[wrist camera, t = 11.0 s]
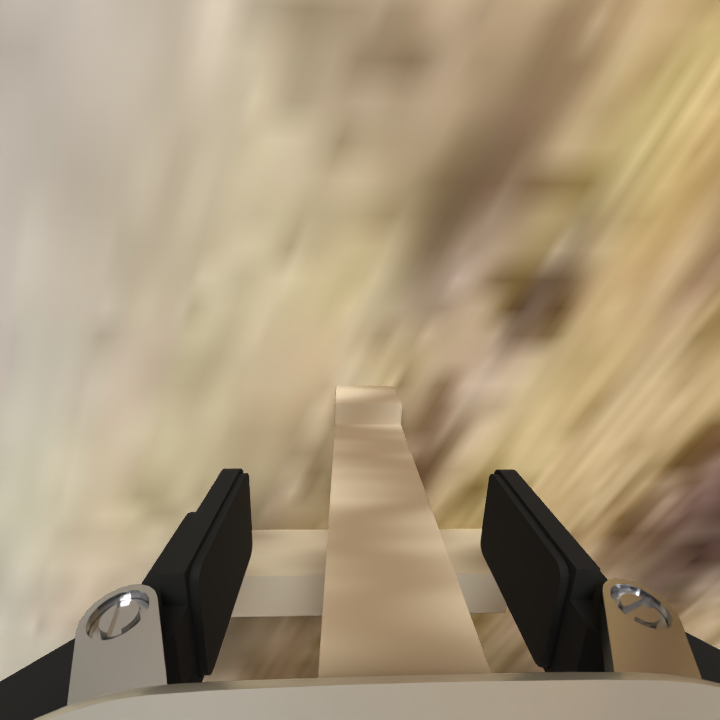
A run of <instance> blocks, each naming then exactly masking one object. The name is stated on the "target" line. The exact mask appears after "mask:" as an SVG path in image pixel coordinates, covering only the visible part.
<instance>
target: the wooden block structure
mask: <svg viewBox="0 0 720 720" xmlns="http://www.w3.org/2000/svg"><path fill="white" fill-rule="evenodd" d="M401 414H402V403H401V401H400V398H399V396H398V394H397V391H396V389H395V387H389V386H337V389H336V402H335V434H334V449H333V464H332V478H331V493H330V508H329V523H328V530H252V542H253V546H252V554H251V558H250V561H249V564H248V567H247V570H246V573H245V576H244V579H243V582H242V585H241V588H240V591H239V594H238V597H237V600H236V603H235V606H234V609H233V612H232V615H231V617H264V616H322V627H321V642H320V657H319V672H318V678H330V677H364V676H402V675H442V674H487V673H491V671H490V668H489V665H488V663H487V660H486V657H485V654H484V652H483V649H482V646H481V643H480V641H479V638H478V635H477V632H476V630H475V627H474V624H473V621H472V619H471V616H470V613H506V607H507V604H506V602H505V600H504V598H503V596H502V594H501V592H500V589H499V587H498V585H497V583H496V581H495V579H494V577H493V575H492V573H491V571H490V569H489V567H488V565H487V563H486V561H485V559H484V557H483V554H482V551H481V546H480V541H481V533H482V529H439V528H438V525H437V523H436V520H435V517H434V514H433V512H432V509H431V506H430V503H429V501H428V498H427V495H426V493H425V490H424V487H423V484H422V482H421V479H420V476H419V473H418V471H417V468H416V465H415V462H414V460H413V457H412V454H411V451H410V449H409V446H408V443H407V440H406V438H405V435H404V432H403V429H402V427H401Z"/></svg>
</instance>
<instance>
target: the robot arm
mask: <svg viewBox="0 0 720 720" xmlns="http://www.w3.org/2000/svg"><path fill="white" fill-rule="evenodd" d="M252 546H253V542H252V524H251V505H250V487H249V475H248V473H243V470H242V469H223V470H222V471H221V473H220V474H219V476H218V478H217V479H216V481H215V482H214V484H213V486H212V487H211V489H210V490H209V492H208V494H207V495H206V497H205V499H204V500H203V502H202V503H201V505H200V507H199V508H198V510H197V511H196V512H190V513H188V514H187V515H186V517H185V518H184V519H183V521H182V522H181V524H180V526H179V527H178V529H177V530H176V532H175V533H174V535H173V536H172V538H171V539H170V541H169V542H168V544H167V545H166V547H165V548H164V550H163V552H162V553H161V555H160V556H159V558H158V559H157V561H156V562H155V564H154V565H153V567H152V568H151V570H150V571H149V573H148V574H147V576H146V577H145V579H144V581H143V582H142V584H137V585H129V586H125V587H122V588H119V589H117V590H115V591H113V592H111V593H109V594H107V595H105V596H104V597H102V598H101V599H100V600H98V601H97V602H95V603H94V604H93V605H92V606H91V607H90V608H89V609H88V610H87V611H86V613H85V614H84V616H83V617H82V618H81V620H80V621H79V624H78V627H77V630H76V636H75V638H74V639H73V640H71V641H69V642H68V643H66V644H64V645H62V646H61V647H59V648H57V649H55V650H54V651H52V652H50V653H49V654H47V655H45V656H43V657H42V658H40V659H38V660H37V661H35V662H33V663H31V664H30V665H28V666H26V667H25V668H23V669H21V670H19V671H18V672H16V673H14V674H13V675H11V676H9V677H7V678H6V679H4V680H2V681H1V682H0V720H720V650H719V649H717V648H715V647H713V646H711V645H709V644H707V643H706V642H704V641H702V640H700V639H698V638H696V637H694V636H692V635H690V634H688V633H686V632H685V631H684V628H683V626H682V623H681V620H680V619H679V617H678V615H677V613H676V611H675V610H674V609H673V608H672V607H671V606H670V605H669V604H668V602H666V601H665V600H664V599H663V598H661V597H660V596H659V595H658V594H656V593H655V592H653V591H651V590H650V589H648V588H646V587H645V586H642V585H640V584H638V583H635V582H633V581H629V580H625V579H610V580H607V578H606V577H605V576H604V575H603V574H602V572H601V571H600V568H599V567H598V566H597V565H596V563H595V562H594V561H593V560H592V559H591V558H590V556H589V555H588V554H587V553H586V552H585V551H584V549H583V548H582V547H581V546H580V545H579V544H578V542H577V541H576V540H575V539H574V538H573V537H572V535H571V534H570V533H569V532H568V531H567V530H566V529H565V527H564V526H563V525H562V524H561V523H560V522H559V520H558V519H557V518H556V517H555V516H554V515H553V513H552V512H551V511H550V510H549V509H548V508H547V506H546V505H545V504H544V503H543V502H542V501H541V499H540V498H539V497H538V496H537V495H536V494H535V492H534V491H533V490H532V489H531V488H530V487H529V486H528V484H527V483H526V482H525V481H524V480H523V479H522V477H521V476H520V475H519V474H518V473H517V472H516V471H515V470H496V471H495V472H494V474H491V475H490V476H489V482H488V490H487V497H486V504H485V512H484V519H483V526H482V533H481V541H480V546H481V551H482V554H483V557H484V559H485V561H486V563H487V565H488V567H489V569H490V571H491V573H492V575H493V577H494V579H495V581H496V583H497V585H498V587H499V589H500V592H501V594H502V596H503V598H504V600H505V602H506V604H507V606H508V608H509V610H510V612H511V614H512V616H513V618H514V620H515V622H516V624H517V626H518V628H519V631H520V633H521V635H522V637H523V639H524V641H525V643H526V645H527V647H528V649H529V651H530V653H531V655H532V657H533V659H534V661H535V663H536V664H537V665H538V666H539V667H543V668H544V670H545V672H541V673H487V674H442V675H402V676H364V677H330V678H299V679H268V680H239V681H220V682H202V681H203V678H204V675H210V674H211V673H212V671H213V669H214V666H215V663H216V660H217V657H218V654H219V651H220V648H221V645H222V642H223V639H224V636H225V633H226V630H227V627H228V624H229V621H230V618H231V615H232V612H233V609H234V606H235V603H236V600H237V597H238V594H239V591H240V588H241V585H242V582H243V579H244V576H245V573H246V570H247V567H248V564H249V561H250V558H251V554H252Z"/></svg>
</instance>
